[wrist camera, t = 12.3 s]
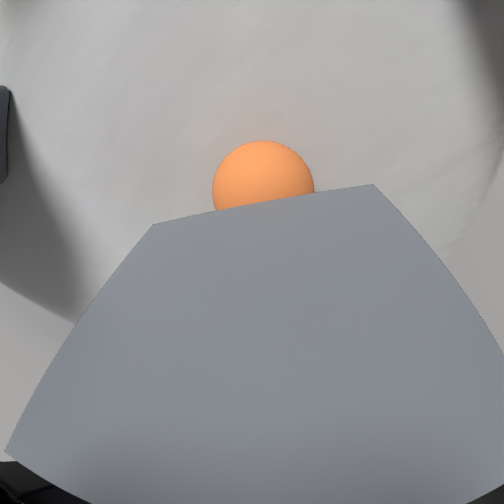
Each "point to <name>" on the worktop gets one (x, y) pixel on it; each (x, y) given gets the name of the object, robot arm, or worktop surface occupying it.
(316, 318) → the matte grey cube
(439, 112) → the worktop surface
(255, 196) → the ball
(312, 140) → the worktop surface
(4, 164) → the storage bin
